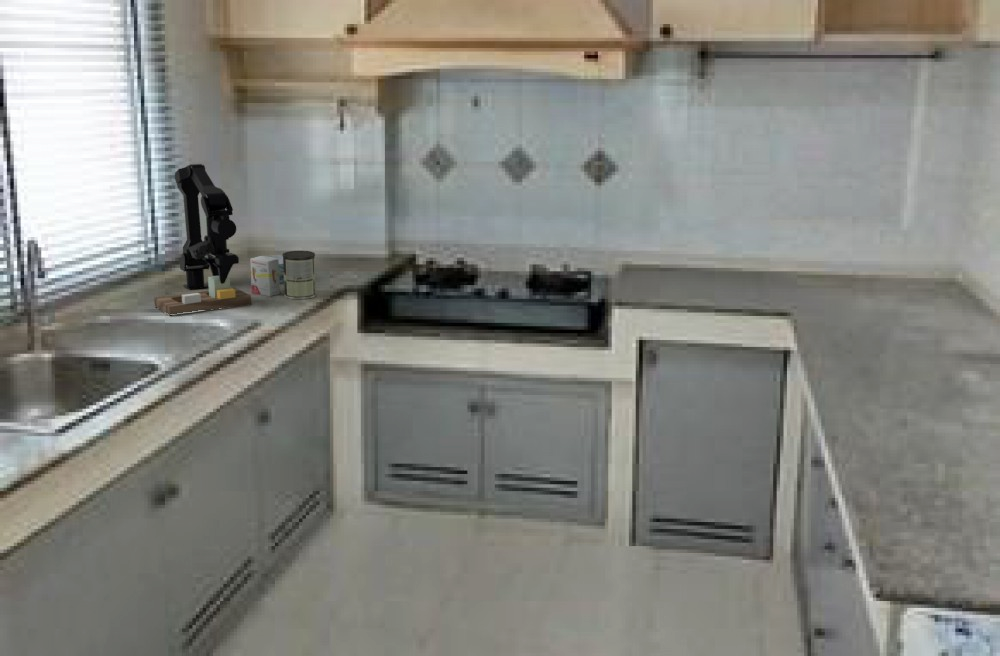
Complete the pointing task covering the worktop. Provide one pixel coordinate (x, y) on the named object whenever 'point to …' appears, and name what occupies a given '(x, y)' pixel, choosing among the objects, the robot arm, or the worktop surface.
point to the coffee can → (299, 274)
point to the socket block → (202, 301)
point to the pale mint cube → (217, 285)
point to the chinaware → (281, 270)
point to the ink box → (265, 275)
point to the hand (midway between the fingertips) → (219, 281)
